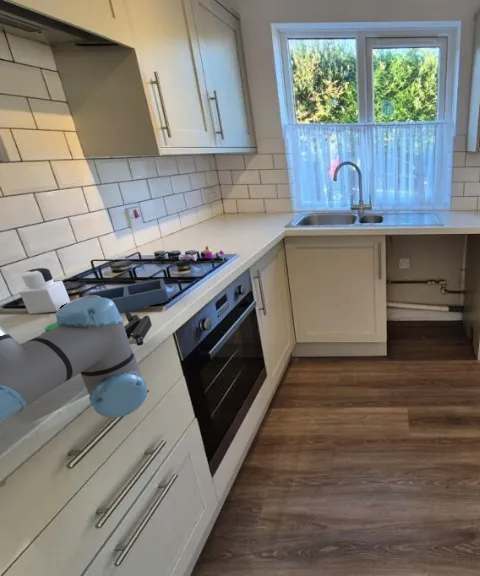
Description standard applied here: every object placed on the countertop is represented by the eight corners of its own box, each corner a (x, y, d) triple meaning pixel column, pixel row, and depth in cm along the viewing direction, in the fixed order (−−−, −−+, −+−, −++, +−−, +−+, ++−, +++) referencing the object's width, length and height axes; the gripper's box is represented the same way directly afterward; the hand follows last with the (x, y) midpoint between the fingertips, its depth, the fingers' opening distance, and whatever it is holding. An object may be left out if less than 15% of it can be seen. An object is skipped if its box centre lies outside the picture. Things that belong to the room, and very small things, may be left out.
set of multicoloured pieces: (177, 264, 142) (173, 249, 139) (185, 258, 149) (181, 244, 146) (225, 261, 144) (222, 246, 141) (230, 255, 151) (227, 241, 149)
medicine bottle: (45, 304, 110) (29, 267, 106) (71, 301, 111) (56, 265, 107) (28, 314, 104) (10, 275, 99) (56, 312, 105) (40, 273, 100)
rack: (87, 321, 99) (81, 306, 97) (90, 307, 107) (84, 293, 105) (169, 302, 109) (165, 288, 107) (166, 291, 117) (162, 278, 115)
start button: (46, 339, 85) (43, 331, 84) (49, 332, 88) (46, 325, 88) (68, 334, 87) (65, 326, 86) (70, 327, 90) (67, 320, 90)
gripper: (28, 408, 63) (27, 359, 77) (182, 352, 78) (157, 320, 93) (9, 373, 60) (12, 328, 74) (173, 322, 75) (149, 293, 90)
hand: (92, 324), depth 84 cm, fingers open, 13 cm apart
